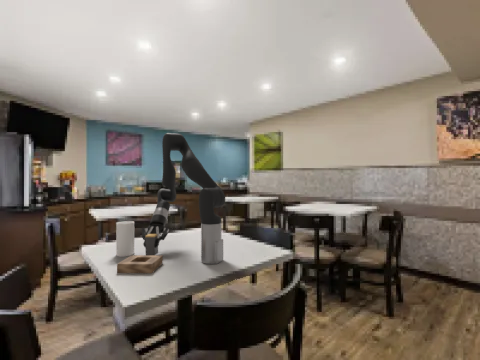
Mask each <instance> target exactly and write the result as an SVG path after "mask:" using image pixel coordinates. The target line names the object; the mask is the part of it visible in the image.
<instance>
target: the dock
mask: <svg viewBox="0 0 480 360" xmlns="http://www.w3.org/2000/svg"><path fill="white" fill-rule="evenodd" d="M163 256H164V255H157V254H156V255H146V254H141V255H140V254H139V255H137V254H136V255H135V254H133V255H130V256H127V257H126V258H125V259H123V260H121V261H120V262H117V264H116V273H118V274H152V273H154V271H157V269H158V268H159V267H160V266H161V265H163V262H164V261H163V259H164V258H163Z"/></svg>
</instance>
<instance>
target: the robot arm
mask: <svg viewBox="0 0 480 360" xmlns="http://www.w3.org/2000/svg"><path fill="white" fill-rule="evenodd" d="M161 145H162V146H161V148H162V165H163V166H162V169H163V170H162V177H161V178H162V179H161V185H162V186H164V187H166V188H160V189H159V190H158V191H157V193H156V194H157V203H156V207H155V209H154V211H153V214H152V216H151V219H150V222H149V225H148V227H146V228H145V227H142V228H141V238H142V240H143V243H142V245H143V246H144V248H145V249H146V237H145V236H146V235H148V234H157V239H156V241H155V244H154V246H155V248H157V246H158V247H159V245H160V242H161V241H164V240H165V239H166V237H167V236H168V234H169V232H170V229H169V227H166V223H167V219H168V217H169V216H168V215H169V211H170V209H171V208H170V207H171V203H173V202H175V201H176V199H177V190H176V175H177V173H176V172H177V171H176V168H175V166H174V163H173V161H172V159H171V152H172V151H175V152H176V151H178V152H179V153H180V154H181V155H182V158H181V163H180V165H181V169H182V171H183V173H185V175H186V177H187V178H188V179H189V180H191V182H193V183H195V184H196V185H198V186H200V187H201V190H200V192H199V194H198V209H199V211H198V212H199V217H200V239H201V240H200V243H201V244H200V253H201V254H200V257H201V263H203V264H207V265H215V264H216V265H218V264H219V263H221V262H223V261H224V239H223V238H222V217H221V216H220V215H218V214H216V213H215V208H220V207H223V206H224V205H225V204H226V195H225V192H224V190H223V189H222V188H221V187H220V186H219V185H218V183H216V181H215V180H214V179H213V178H212V177H211V175H210V173H208V171H207V170H206V169H205V167H204V166H203V165H202V163H201V161H200V160H199V159H198V157H197V156H196V154H195V153H194V152H193V150H192V149H191V147H190V145H189V144H188V141H187V140H186V138H185V136H184V135H183V134H181V133H173V132H172V133H171V132H167V133H165V134H164V135H163V137H162V144H161Z"/></svg>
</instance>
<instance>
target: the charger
mask: <svg viewBox="0 0 480 360" xmlns="http://www.w3.org/2000/svg"><path fill="white" fill-rule="evenodd" d="M145 237H146V248H145V255H157V254H158V253H159V245H158V246H157V248H155V246H154V244H155V241H156V239H157V234H148V235H147V234H146V236H145Z"/></svg>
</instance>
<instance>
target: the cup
mask: <svg viewBox="0 0 480 360" xmlns="http://www.w3.org/2000/svg"><path fill="white" fill-rule="evenodd" d="M115 225H116V227H115V229H116V230H115V231H116V235H115V238H116V240H115V241H116V243H115V245H116V246H115V247H116V249H115V251H116V253H115V254H116V256H117V257H130V256H131V255H135V221H133V220H126V221H117V222H115Z"/></svg>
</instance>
